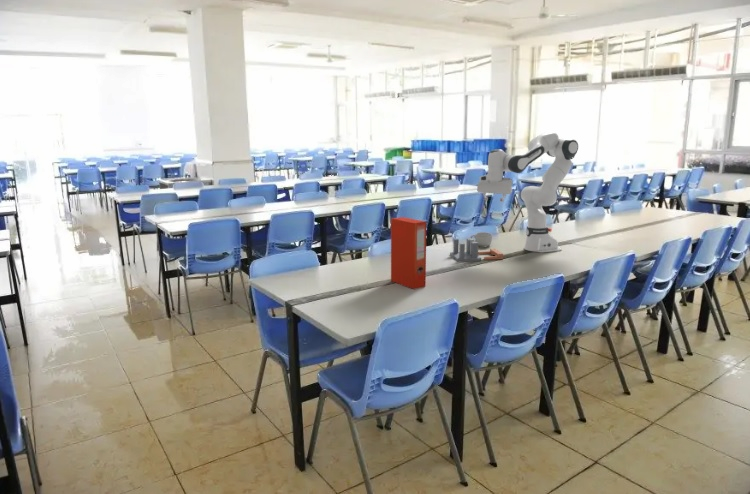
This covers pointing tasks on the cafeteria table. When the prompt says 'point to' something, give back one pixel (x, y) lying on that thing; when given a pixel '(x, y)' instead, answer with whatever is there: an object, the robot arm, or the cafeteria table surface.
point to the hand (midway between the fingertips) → (493, 200)
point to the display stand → (470, 252)
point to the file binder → (408, 252)
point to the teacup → (483, 238)
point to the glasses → (493, 252)
